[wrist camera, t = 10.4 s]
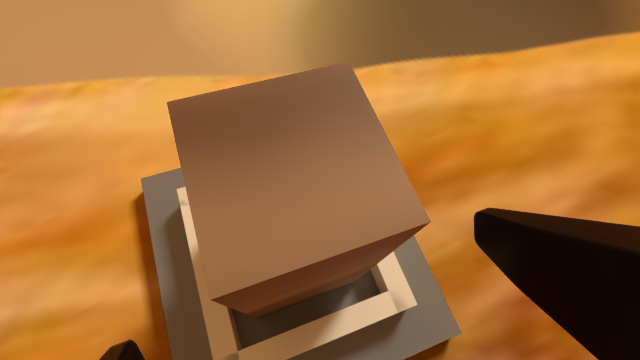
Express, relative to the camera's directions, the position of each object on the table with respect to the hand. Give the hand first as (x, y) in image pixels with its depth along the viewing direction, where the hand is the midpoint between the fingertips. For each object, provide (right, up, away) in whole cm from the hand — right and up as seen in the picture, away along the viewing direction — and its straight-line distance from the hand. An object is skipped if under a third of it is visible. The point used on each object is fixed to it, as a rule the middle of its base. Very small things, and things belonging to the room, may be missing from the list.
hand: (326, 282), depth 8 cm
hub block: (-2, -1, +9) cm, 9 cm away
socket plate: (-2, -2, +10) cm, 10 cm away
